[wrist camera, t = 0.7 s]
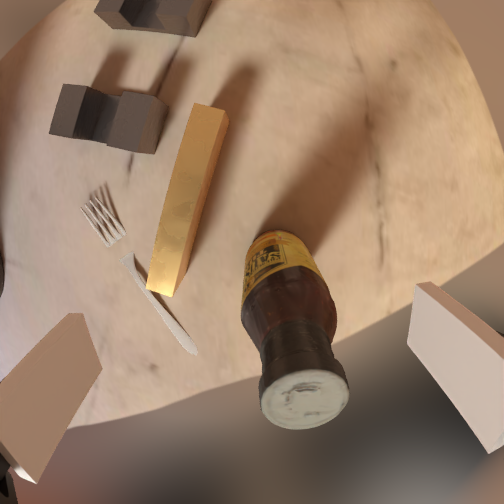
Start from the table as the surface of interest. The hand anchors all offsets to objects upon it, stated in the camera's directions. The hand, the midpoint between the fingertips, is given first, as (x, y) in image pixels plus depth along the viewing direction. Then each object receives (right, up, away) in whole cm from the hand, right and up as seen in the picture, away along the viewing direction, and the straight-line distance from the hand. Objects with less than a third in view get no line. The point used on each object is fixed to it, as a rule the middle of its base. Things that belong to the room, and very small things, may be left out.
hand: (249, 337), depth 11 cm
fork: (-11, -1, +22) cm, 24 cm away
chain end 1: (-10, +28, +13) cm, 33 cm away
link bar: (-6, +9, +18) cm, 21 cm away
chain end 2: (-13, +16, +16) cm, 27 cm away
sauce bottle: (+2, +2, +20) cm, 21 cm away
